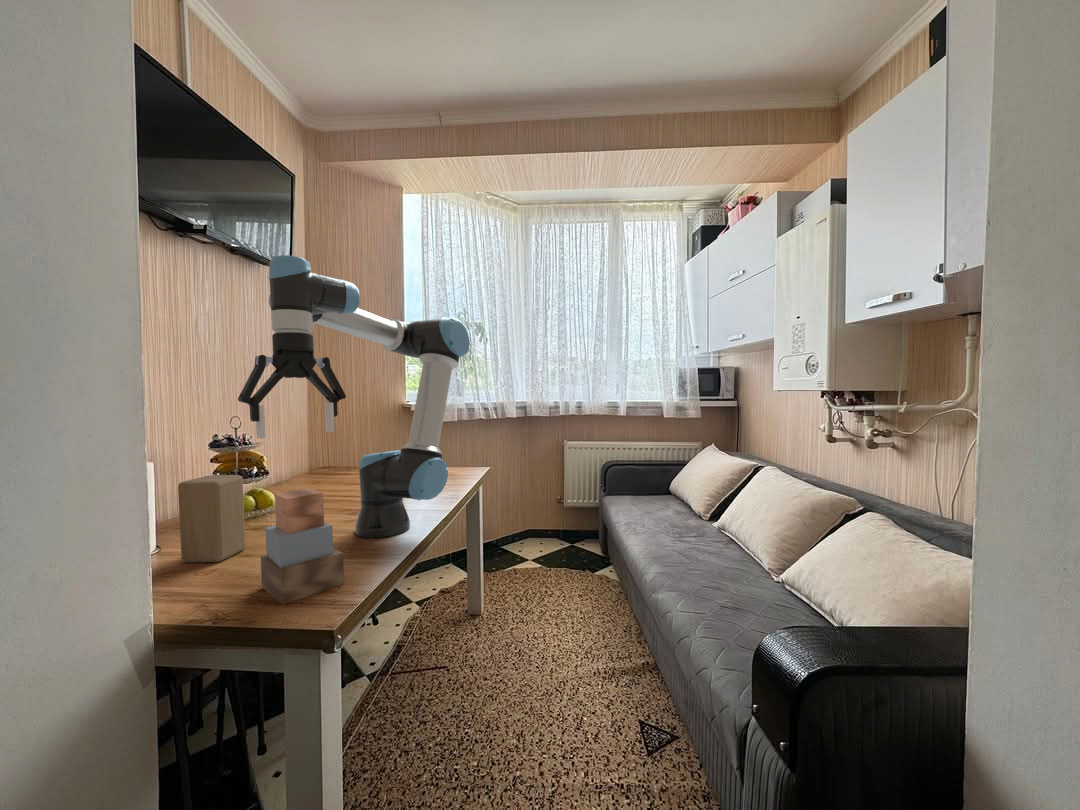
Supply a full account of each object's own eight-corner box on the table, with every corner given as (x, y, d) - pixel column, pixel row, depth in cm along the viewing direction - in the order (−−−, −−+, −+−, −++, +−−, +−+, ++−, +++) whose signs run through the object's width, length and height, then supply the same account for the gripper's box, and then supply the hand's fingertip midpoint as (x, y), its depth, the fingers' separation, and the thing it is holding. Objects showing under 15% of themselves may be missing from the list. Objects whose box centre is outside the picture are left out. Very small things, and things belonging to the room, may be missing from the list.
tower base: (320, 571, 104) (319, 541, 104) (344, 585, 96) (343, 552, 96) (262, 589, 95) (260, 556, 95) (283, 606, 87) (281, 570, 87)
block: (210, 549, 120) (207, 474, 119) (247, 549, 120) (244, 474, 119) (179, 564, 110) (175, 482, 109) (219, 563, 110) (215, 481, 109)
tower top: (316, 543, 102) (315, 517, 102) (333, 554, 95) (332, 525, 95) (266, 555, 95) (265, 527, 95) (280, 567, 88) (279, 537, 88)
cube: (311, 519, 100) (309, 488, 100) (324, 525, 96) (322, 492, 95) (276, 527, 95) (274, 494, 95) (288, 533, 90) (286, 499, 90)
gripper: (343, 338, 106) (347, 429, 107) (216, 330, 87) (221, 439, 88) (359, 335, 101) (362, 430, 102) (227, 325, 82) (233, 441, 83)
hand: (297, 435), depth 95 cm, fingers open, 13 cm apart
